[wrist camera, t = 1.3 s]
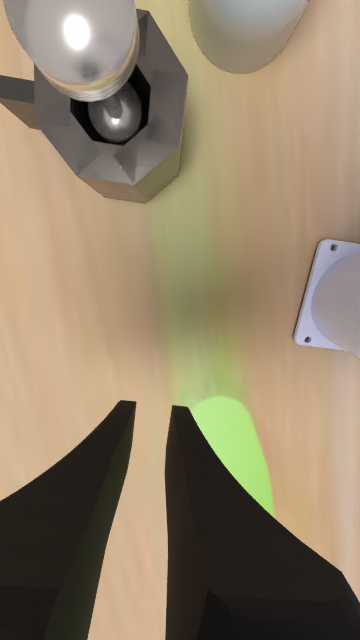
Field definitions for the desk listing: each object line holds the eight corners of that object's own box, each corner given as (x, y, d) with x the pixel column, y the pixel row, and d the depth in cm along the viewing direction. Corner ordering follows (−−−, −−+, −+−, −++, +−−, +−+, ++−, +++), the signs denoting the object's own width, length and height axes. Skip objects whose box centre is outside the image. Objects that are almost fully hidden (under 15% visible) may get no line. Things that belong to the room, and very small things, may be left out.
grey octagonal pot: (188, 92, 16) (194, 19, 11) (174, 207, 18) (174, 191, 13) (41, 66, 16) (-22, -23, 11) (42, 187, 17) (-12, 162, 12)
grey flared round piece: (156, 80, 13) (139, -74, 7) (148, 160, 14) (128, 88, 8) (83, 66, 13) (-2, -105, 7) (80, 149, 14) (4, 67, 7)
